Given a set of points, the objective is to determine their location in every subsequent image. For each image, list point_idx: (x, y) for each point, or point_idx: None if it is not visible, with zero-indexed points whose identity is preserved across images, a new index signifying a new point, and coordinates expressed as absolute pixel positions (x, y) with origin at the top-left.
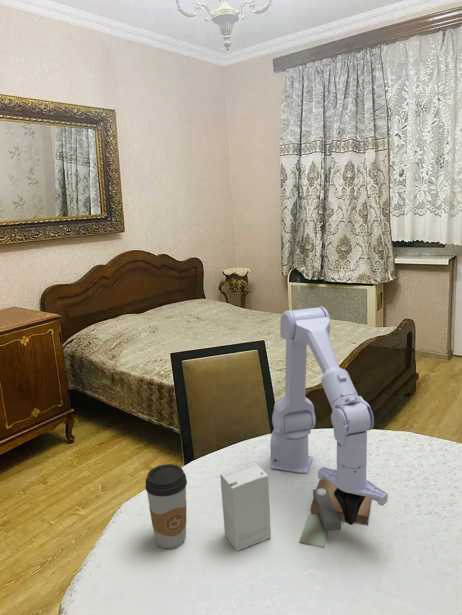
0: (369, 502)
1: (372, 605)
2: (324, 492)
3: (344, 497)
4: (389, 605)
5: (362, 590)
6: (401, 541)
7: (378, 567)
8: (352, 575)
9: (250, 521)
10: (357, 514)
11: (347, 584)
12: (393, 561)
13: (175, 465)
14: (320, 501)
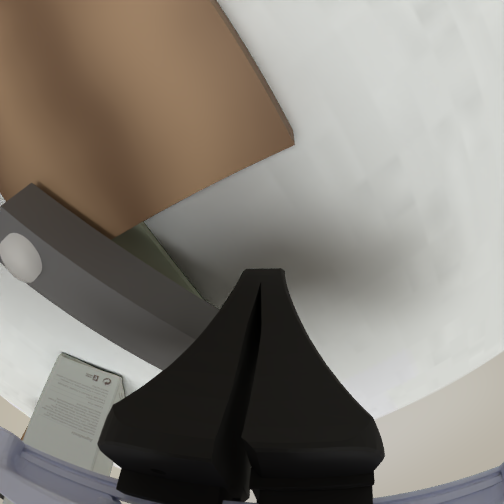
0: (212, 9)
1: (433, 387)
2: (29, 260)
3: (248, 493)
4: (464, 370)
5: (406, 379)
6: (471, 144)
7: (428, 312)
8: (369, 367)
9: (110, 459)
10: (287, 290)
11: (368, 387)
12: (466, 264)
13: (3, 499)
14: (77, 312)
